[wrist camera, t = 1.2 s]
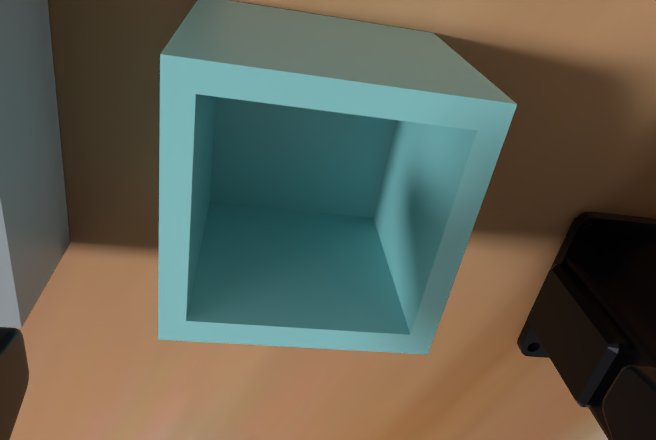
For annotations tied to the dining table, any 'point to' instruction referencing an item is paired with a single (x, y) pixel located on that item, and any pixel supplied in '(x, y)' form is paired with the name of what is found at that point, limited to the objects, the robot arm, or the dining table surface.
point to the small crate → (316, 178)
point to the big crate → (28, 160)
